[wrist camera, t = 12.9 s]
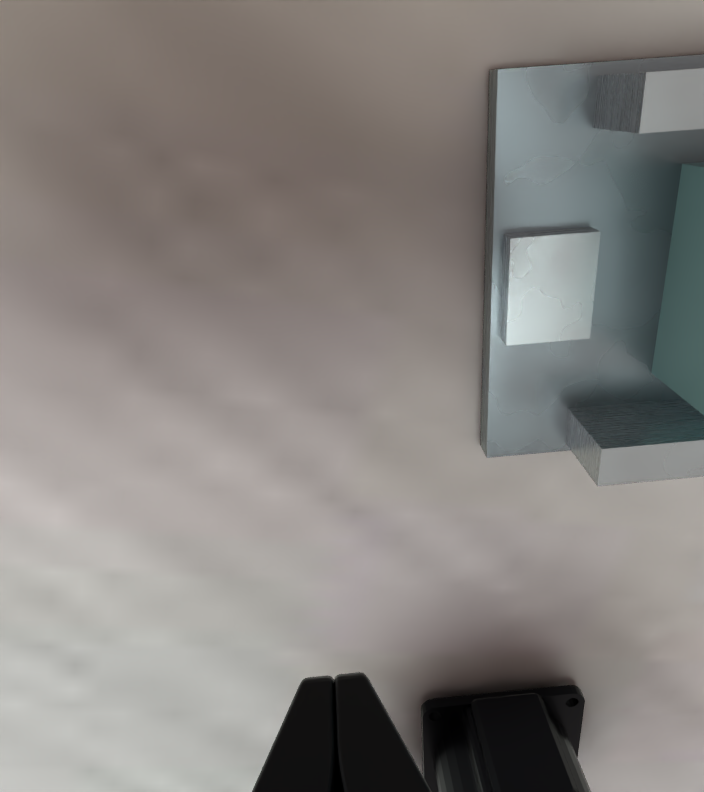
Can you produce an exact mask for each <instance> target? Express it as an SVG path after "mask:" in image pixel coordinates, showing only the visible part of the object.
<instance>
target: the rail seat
mask: <svg viewBox="0 0 704 792" xmlns="http://www.w3.org/2000/svg"><path fill="white" fill-rule="evenodd" d="M698 162H704V54H703V55H689V56H675V57H661V58H647V59H633V60H620V61H606V62H592V63H578V64H564V65H550V66H536V67H522V68H508V69H496V70H490V72H489V113H488V155H487V196H486V238H485V280H484V321H483V363H482V404H481V447H482V449H483V451H484V453H485V455H486V457H487V458H488V457H500V456H511V455H522V454H533V453H544V452H555V451H566V450H571V451H572V452H573V454H574V455H575V456H576V458H577V459H578V460H579V462H580V463H581V465H582V466H583V467H584V469H585V470H586V471H587V473H588V474H589V475H590V477H591V478H592V479H593V481H594V482H595V483H596V485H597V486H604V485H615V484H626V483H637V482H648V481H659V480H670V479H681V478H692V477H703V476H704V415H703V414H701V413H700V412H699V411H698V410H697V409H695V408H694V407H693V406H692V405H690V404H689V403H688V402H687V401H685V400H684V399H683V398H682V397H680V396H679V395H678V394H677V393H675V392H674V391H673V390H672V389H671V388H669V387H668V386H667V385H666V384H664V383H663V382H662V381H661V380H659V379H658V378H657V377H656V376H654V375H653V374H652V373H651V372H652V365H653V358H654V351H655V345H656V338H657V331H658V324H659V318H660V311H661V304H662V297H663V291H664V284H665V277H666V270H667V263H668V257H669V250H670V243H671V236H672V230H673V223H674V216H675V209H676V203H677V196H678V189H679V182H680V176H681V169H682V164H685V163H698Z"/></svg>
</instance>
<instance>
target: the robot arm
mask: <svg viewBox="0 0 704 792" xmlns="http://www.w3.org/2000/svg"><path fill="white" fill-rule="evenodd" d="M584 702H585V700H584V697H583V694H582V692H581V690H580V689H579V688H578V687H577V686H574V685H567V686H557V687H547V688H537V689H527V690H517V691H507V692H498V693H488V694H478V695H468V696H458V697H448V698H438V699H431V700H428V701H426V702H424V704H423V705H422V707H421V724H422V761H423V776H422V774H421V772H420V770H419V768H418V767H417V765H416V763H415V761H414V759H413V758H412V756H411V754H410V752H409V750H408V749H407V747H406V745H405V743H404V742H403V740H402V738H401V736H400V734H399V733H398V731H397V729H396V727H395V725H394V724H393V722H392V720H391V718H390V717H389V715H388V713H387V711H386V709H385V708H384V706H383V704H382V702H381V700H380V699H379V697H378V695H377V693H376V692H375V690H374V688H373V686H372V684H371V683H370V681H369V679H368V677H367V676H366V675H365V674H364V673H360V672H359V673H349V674H339V675H337V676H336V677H335V679H333V678H332V677H331V676H319V677H309V678H305V679H304V680H302V682H301V683H300V685H299V687H298V689H297V692H296V694H295V696H294V698H293V701H292V703H291V705H290V707H289V710H288V712H287V714H286V716H285V719H284V721H283V723H282V725H281V728H280V730H279V732H278V734H277V737H276V739H275V741H274V743H273V746H272V748H271V750H270V752H269V755H268V757H267V759H266V761H265V764H264V766H263V768H262V770H261V773H260V775H259V777H258V779H257V782H256V784H255V786H254V788H253V791H252V792H591V791H590V788H589V786H588V783H587V781H586V778H585V776H584V773H583V771H582V768H581V766H580V764H579V761H578V759H577V756H578V748H579V741H580V733H581V725H582V718H583V710H584Z"/></svg>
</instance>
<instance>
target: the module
mask: <svg viewBox="0 0 704 792" xmlns="http://www.w3.org/2000/svg"><path fill="white" fill-rule="evenodd" d="M651 373H652V374H653V375H654V376H656V377H657V378H658V379H659V380H661V381H662V382H663V383H664V384H666V385H667V386H668V387H669V388H671V389H672V390H673V391H674V392H675V393H677V394H678V395H679V396H680V397H682V398H683V399H684V400H685V401H687V402H688V403H689V404H690V405H692V406H693V407H694V408H695V409H697V410H698V411H699V412H700V413H701V414H703V415H704V162H698V163H685V164H682V169H681V176H680V182H679V189H678V196H677V203H676V209H675V216H674V223H673V230H672V236H671V243H670V250H669V257H668V263H667V270H666V277H665V284H664V291H663V297H662V304H661V311H660V318H659V324H658V331H657V338H656V345H655V351H654V358H653V365H652V372H651Z"/></svg>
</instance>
